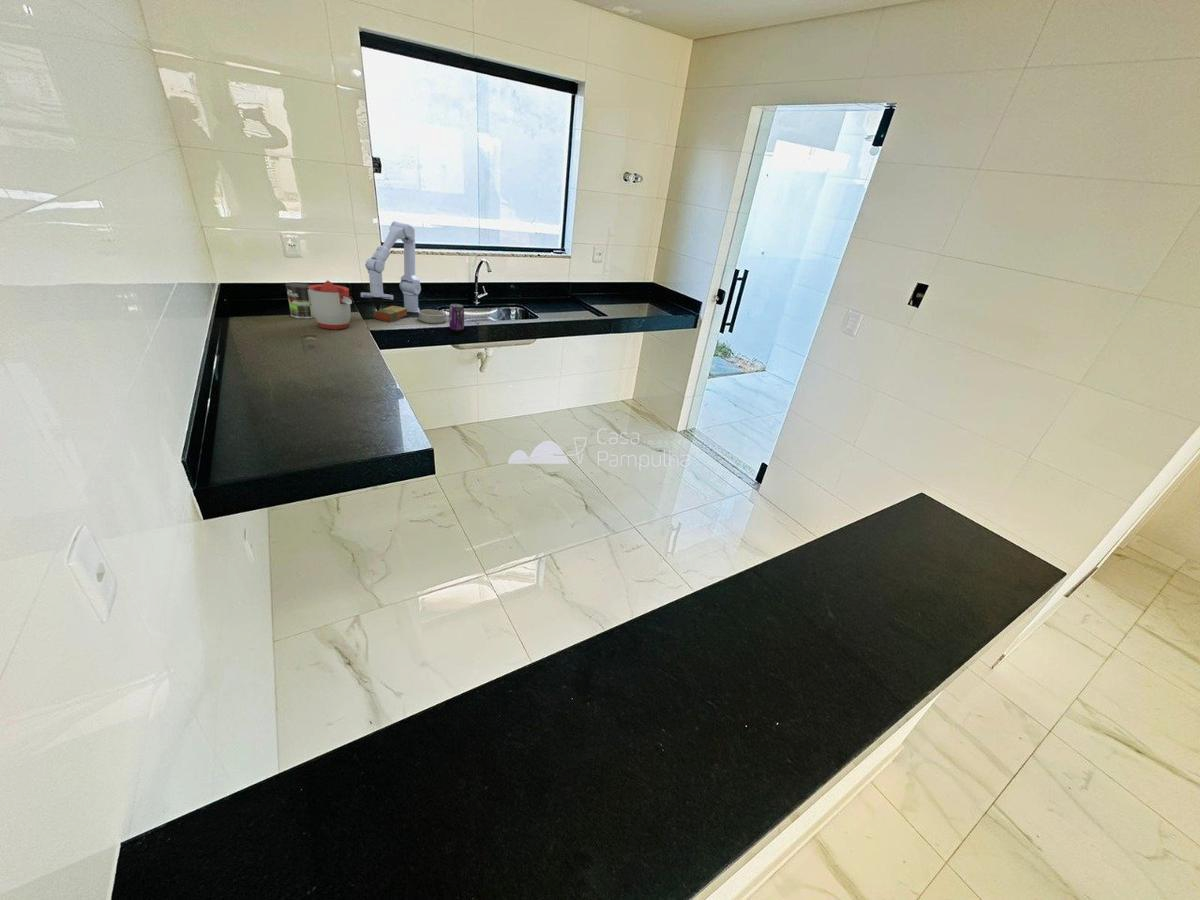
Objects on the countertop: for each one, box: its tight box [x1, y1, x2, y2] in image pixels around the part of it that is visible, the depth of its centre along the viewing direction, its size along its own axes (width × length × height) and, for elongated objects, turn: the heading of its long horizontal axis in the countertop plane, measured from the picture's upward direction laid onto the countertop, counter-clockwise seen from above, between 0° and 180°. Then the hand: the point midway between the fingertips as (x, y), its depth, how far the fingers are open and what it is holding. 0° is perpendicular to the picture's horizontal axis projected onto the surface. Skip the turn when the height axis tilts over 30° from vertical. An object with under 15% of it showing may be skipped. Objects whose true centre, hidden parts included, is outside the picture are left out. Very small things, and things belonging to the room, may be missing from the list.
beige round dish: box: [417, 309, 446, 324], centre depth 241 cm, size 13×13×4 cm
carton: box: [374, 305, 408, 323], centre depth 235 cm, size 8×16×4 cm, turn 172°
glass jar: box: [285, 282, 315, 319], centre depth 214 cm, size 10×10×14 cm
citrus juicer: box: [308, 280, 353, 331], centre depth 205 cm, size 16×17×20 cm
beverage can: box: [448, 303, 465, 332], centre depth 231 cm, size 7×7×12 cm
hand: (378, 312), depth 233 cm, fingers closed
